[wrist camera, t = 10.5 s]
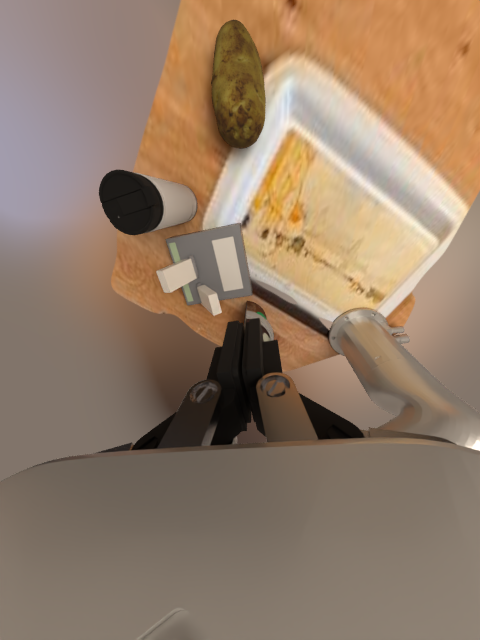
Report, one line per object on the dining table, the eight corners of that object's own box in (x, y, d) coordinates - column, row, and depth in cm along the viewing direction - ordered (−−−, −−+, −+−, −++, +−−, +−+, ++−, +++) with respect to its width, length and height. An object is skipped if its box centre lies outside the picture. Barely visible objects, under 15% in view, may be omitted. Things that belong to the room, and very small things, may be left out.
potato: (280, 48, 30) (288, 1, 23) (257, 159, 36) (257, 149, 29) (222, 31, 30) (211, -21, 23) (208, 147, 36) (197, 133, 29)
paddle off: (201, 281, 44) (216, 291, 37) (207, 301, 46) (222, 314, 39) (194, 284, 44) (207, 294, 37) (200, 303, 46) (214, 317, 39)
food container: (266, 344, 54) (268, 371, 45) (241, 341, 54) (239, 368, 45) (275, 298, 48) (280, 319, 39) (247, 294, 48) (246, 315, 39)
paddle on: (195, 254, 41) (161, 268, 35) (201, 277, 43) (171, 294, 37) (189, 255, 42) (155, 269, 36) (195, 277, 44) (164, 294, 38)
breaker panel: (240, 222, 41) (239, 224, 38) (252, 290, 47) (252, 295, 45) (171, 237, 43) (165, 239, 40) (191, 299, 49) (187, 305, 47)
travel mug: (204, 216, 41) (165, 227, 23) (172, 226, 42) (112, 242, 25) (192, 178, 38) (138, 158, 21) (158, 189, 39) (80, 179, 22)
